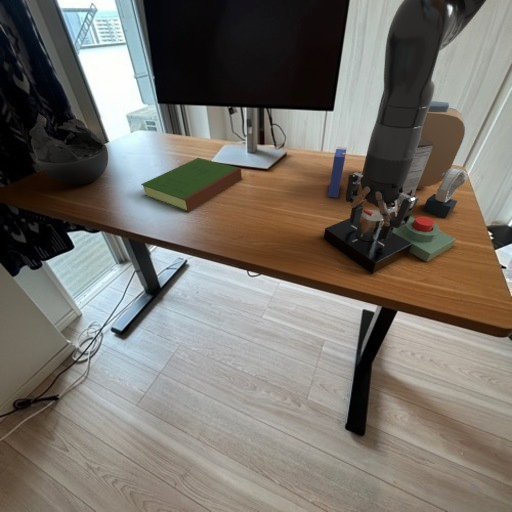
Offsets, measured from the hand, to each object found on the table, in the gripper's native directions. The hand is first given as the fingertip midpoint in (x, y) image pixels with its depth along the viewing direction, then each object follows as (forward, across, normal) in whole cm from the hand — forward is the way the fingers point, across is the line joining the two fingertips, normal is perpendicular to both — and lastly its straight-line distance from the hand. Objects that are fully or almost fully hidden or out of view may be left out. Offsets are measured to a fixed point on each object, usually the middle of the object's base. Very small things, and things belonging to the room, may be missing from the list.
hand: (368, 230), depth 57 cm
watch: (+5, 0, -27) cm, 27 cm away
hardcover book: (+5, +50, +20) cm, 54 cm away
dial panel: (+4, 0, 0) cm, 4 cm away
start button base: (+4, -5, -11) cm, 13 cm away
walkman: (+5, +23, -13) cm, 27 cm away
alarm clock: (+5, +16, -35) cm, 39 cm away
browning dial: (+1, 0, 0) cm, 1 cm away
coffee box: (+5, +11, -23) cm, 26 cm away
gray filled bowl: (+5, +75, +50) cm, 90 cm away
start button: (+1, -5, -11) cm, 12 cm away
